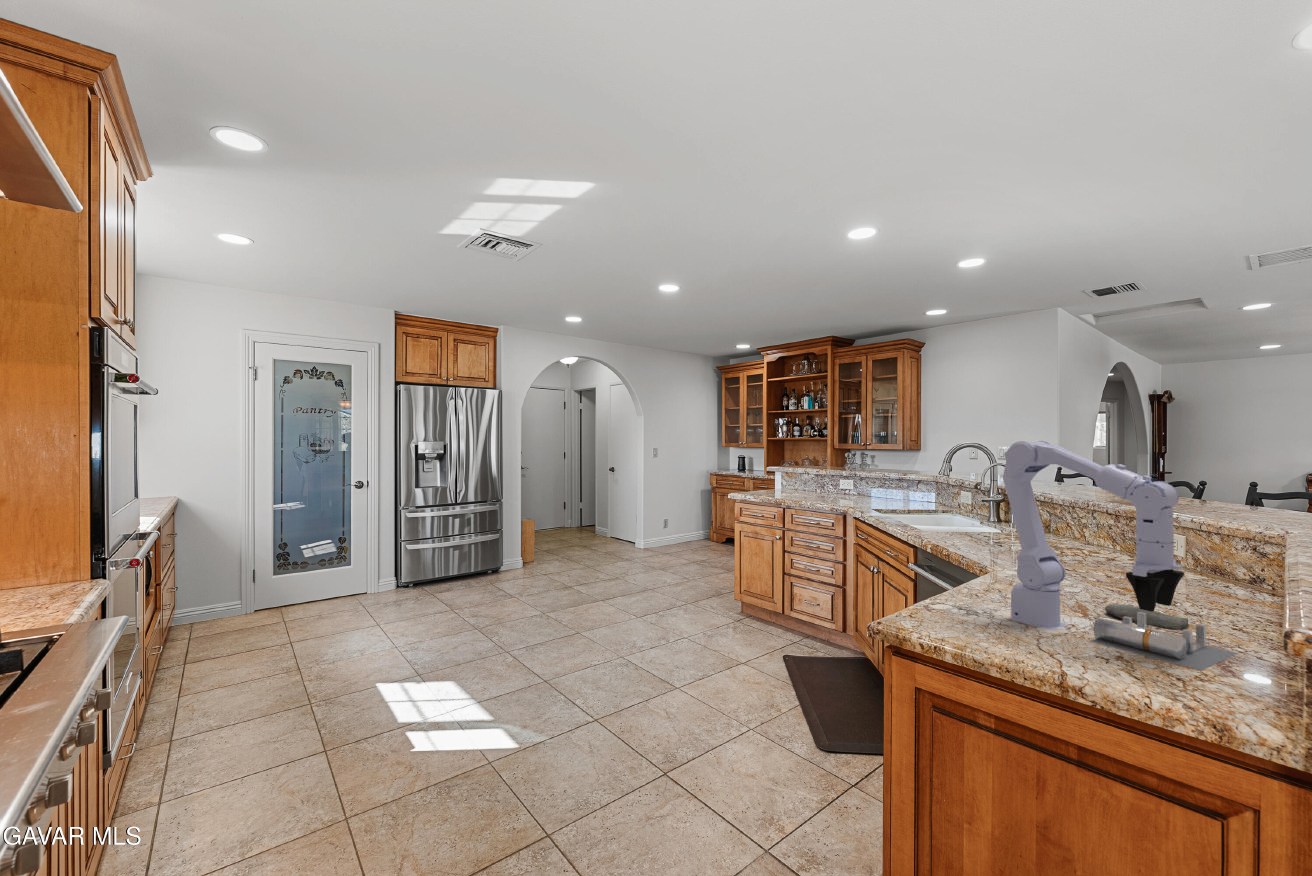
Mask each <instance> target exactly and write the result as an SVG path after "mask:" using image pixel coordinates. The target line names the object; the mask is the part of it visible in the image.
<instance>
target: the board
mask: <svg viewBox="0 0 1312 876" xmlns="http://www.w3.org/2000/svg"><path fill="white" fill-rule="evenodd" d="M1089 642H1091V643H1093V644H1098V645H1101V646H1105V647H1108V648H1109V647H1110V648H1114V649H1115V650H1116V649H1117V650H1120V651H1125V652H1128V653H1132V654H1136V655H1139V656H1143V657H1147V658H1151V659H1154V660H1159V661H1162V662H1166V663H1169V664H1173V665H1177V666H1181V667H1183V668H1184V667H1185V668H1189V669H1193V670H1196V671H1200V672H1202V671H1204V670H1207V669H1208V668H1211V667H1212V666H1214V665H1216V664H1219V663H1221V662H1224V661H1225V660H1227V659H1229V658H1231V657H1233V656H1235V655H1237V654H1238V652H1235V651H1232V650H1231V651H1230V650H1226V649H1222V648H1218V647H1212V646H1209V645H1206V646H1207V647H1206V648H1203V649H1201V650H1199V651H1197V652H1194V653H1192V654H1188V653H1186V655H1185V657H1184V659H1182V660H1181V659H1177V658H1173V657H1169V656H1165V655H1161V654H1157V653H1153V652H1149V651H1145V650H1142V649H1138V648H1134V647H1130V646H1126V645H1122V644H1118V643H1114V642H1110V641H1106V640H1102V639H1098V638H1095V639H1093V640H1089ZM1195 644H1196V643H1195V642H1193V645H1195Z"/></svg>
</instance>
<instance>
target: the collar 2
mask: <svg viewBox="0 0 1312 876" xmlns="http://www.w3.org/2000/svg"><path fill="white" fill-rule="evenodd" d="M1181 633H1182V635H1181V637H1184V638H1185V639H1186V642H1187V652H1186V653H1188V654H1192V653H1194V652H1197V651H1199V650H1201V649H1203V648H1206V647H1207V646H1208V645H1207V625H1204V624H1201V623H1198V624H1196V625H1195V637H1196V638H1195V639H1196V640H1195V641H1196V644H1195V645H1193V643H1194V639H1193V637H1194V635H1193V630H1189V629H1187V628H1186V629H1184V630H1182V631H1181Z"/></svg>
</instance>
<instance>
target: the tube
mask: <svg viewBox="0 0 1312 876" xmlns="http://www.w3.org/2000/svg"><path fill="white" fill-rule="evenodd" d="M1093 634H1094V637H1095V639H1102V640H1106V641H1110V642H1114V643H1118V644H1122V645H1126V646H1130V647H1134V648H1138V649H1142V650H1145V651H1149V652H1153V653H1157V654H1161V655H1165V656H1169V657H1173V658H1177V659H1181V660H1182V659H1184V657H1185V655H1186V652H1187V642H1186V639H1185V638H1184V637H1182V635H1181V636H1180V635H1176V634H1172V633H1167V632H1162V631H1159V630H1154V629H1150V628H1147V627H1146V628H1142V627H1137V625H1133V624H1132V625H1128V624H1124V623H1123V622H1120V621H1119V622H1118V621H1114V620H1111V619H1106V618H1101V617H1097V618H1096V620H1095V621H1094V624H1093Z"/></svg>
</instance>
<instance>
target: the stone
mask: <svg viewBox="0 0 1312 876" xmlns="http://www.w3.org/2000/svg"><path fill="white" fill-rule="evenodd" d="M1104 610H1105V611H1106V613H1108V614H1111V615H1112V616H1114V617H1117V618H1119V619H1121V620H1123V617H1124V616H1126V617H1131V618H1132V623H1134V624H1137V612H1143V613H1146V626H1152V627H1157V628H1162V629H1168V630H1172V631H1181V632H1182V630H1184V629H1186V630H1187V627H1188V624H1189V619H1188V617H1181V616H1177V615H1170V614H1166V613H1162V612H1160V611H1155V610H1154V611H1153V612H1152V611H1147V610H1142V609H1140V608H1139V606H1134V605H1129V604H1123V603H1121V604H1119V603H1118V604H1117V603H1115V604H1110V605H1107V606H1105V607H1104Z"/></svg>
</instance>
